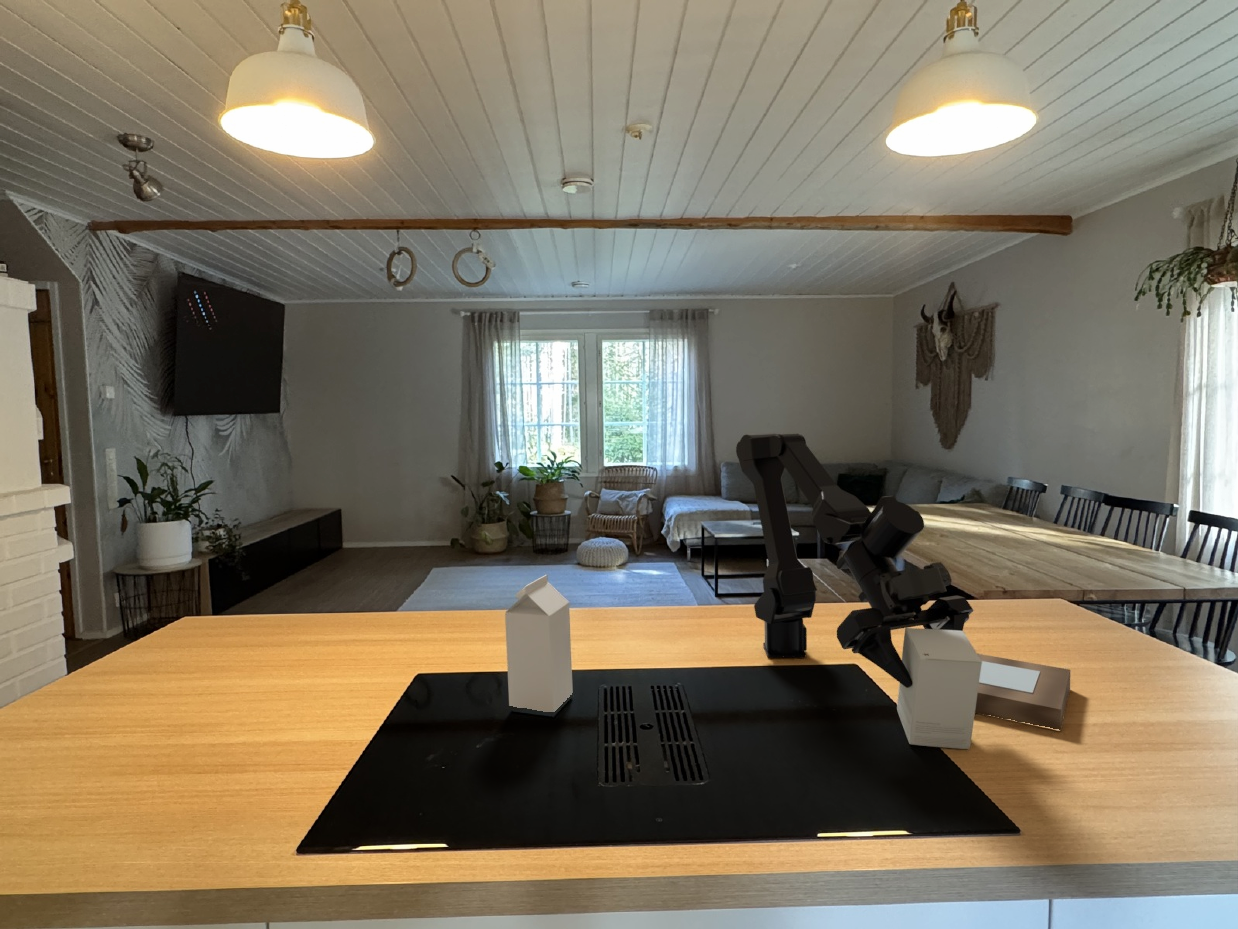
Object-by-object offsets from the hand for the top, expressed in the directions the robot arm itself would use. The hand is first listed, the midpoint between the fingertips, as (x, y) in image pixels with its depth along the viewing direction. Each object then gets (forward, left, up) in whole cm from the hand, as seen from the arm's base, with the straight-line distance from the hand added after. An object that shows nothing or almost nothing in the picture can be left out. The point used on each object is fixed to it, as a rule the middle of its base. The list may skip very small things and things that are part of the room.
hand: (939, 680), depth 85 cm
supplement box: (0, +2, -7) cm, 7 cm away
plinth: (+14, +14, -8) cm, 21 cm away
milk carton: (-53, +10, -8) cm, 55 cm away
